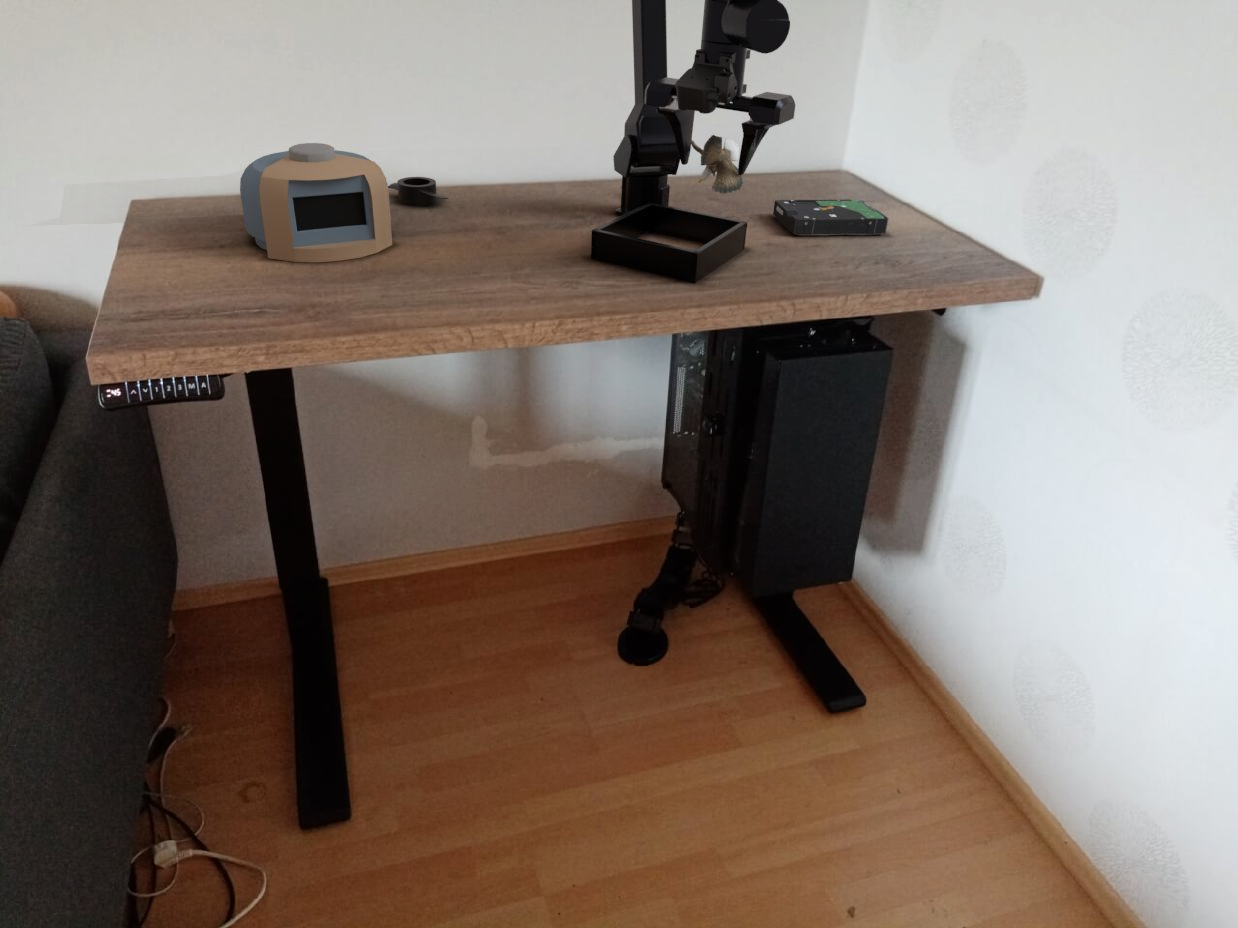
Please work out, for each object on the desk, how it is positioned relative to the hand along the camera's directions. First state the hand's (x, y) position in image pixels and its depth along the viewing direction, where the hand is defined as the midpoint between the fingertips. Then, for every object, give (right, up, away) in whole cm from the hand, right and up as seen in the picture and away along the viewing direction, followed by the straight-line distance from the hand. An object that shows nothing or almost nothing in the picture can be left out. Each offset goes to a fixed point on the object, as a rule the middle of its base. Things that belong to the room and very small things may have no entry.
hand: (712, 169), depth 128 cm
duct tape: (-43, +2, +23) cm, 49 cm away
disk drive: (+20, -2, +22) cm, 30 cm away
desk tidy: (-5, -10, +7) cm, 13 cm away
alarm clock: (-53, -8, +6) cm, 54 cm away
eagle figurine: (0, -2, +1) cm, 2 cm away
